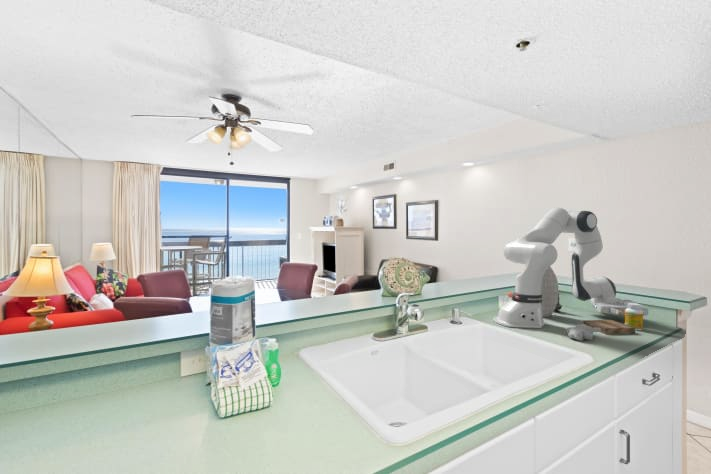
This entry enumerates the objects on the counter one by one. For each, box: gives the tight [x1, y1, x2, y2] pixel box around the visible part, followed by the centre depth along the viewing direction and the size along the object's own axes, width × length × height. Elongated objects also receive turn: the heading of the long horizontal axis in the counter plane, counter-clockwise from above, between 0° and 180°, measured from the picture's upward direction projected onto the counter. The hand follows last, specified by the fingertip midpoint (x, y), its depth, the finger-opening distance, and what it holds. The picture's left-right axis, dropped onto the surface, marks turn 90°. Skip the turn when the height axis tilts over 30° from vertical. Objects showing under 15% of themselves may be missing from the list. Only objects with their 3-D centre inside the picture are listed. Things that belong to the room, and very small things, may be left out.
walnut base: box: [582, 319, 636, 335], centre depth 146 cm, size 14×12×2 cm
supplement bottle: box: [624, 302, 644, 331], centre depth 148 cm, size 6×6×11 cm
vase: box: [541, 266, 559, 318], centre depth 169 cm, size 13×13×28 cm
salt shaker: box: [553, 291, 563, 314], centre depth 177 cm, size 6×6×12 cm
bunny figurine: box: [566, 323, 602, 342], centre depth 136 cm, size 10×5×15 cm
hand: (631, 313), depth 150 cm, fingers open, 8 cm apart
